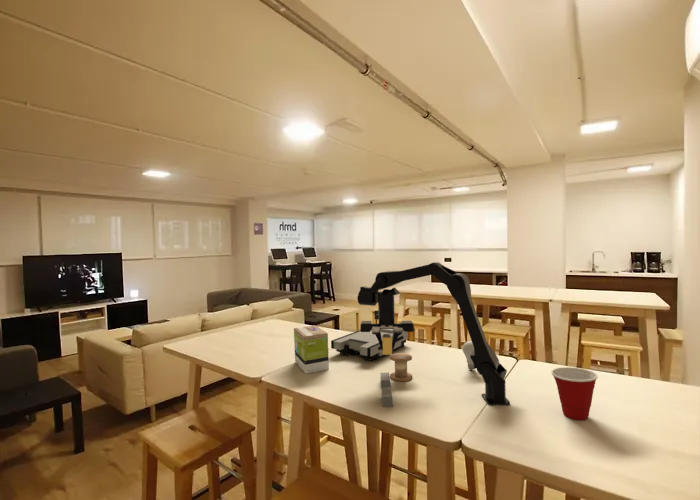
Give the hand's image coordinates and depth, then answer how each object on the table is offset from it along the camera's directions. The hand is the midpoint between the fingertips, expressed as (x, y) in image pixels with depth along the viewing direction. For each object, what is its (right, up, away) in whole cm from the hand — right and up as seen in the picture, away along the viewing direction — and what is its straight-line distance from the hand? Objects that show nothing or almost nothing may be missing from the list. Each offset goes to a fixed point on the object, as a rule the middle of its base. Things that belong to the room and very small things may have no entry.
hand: (387, 350), depth 122 cm
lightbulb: (+33, -10, +7) cm, 35 cm away
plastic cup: (+48, -10, -28) cm, 57 cm away
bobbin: (+5, -10, +2) cm, 12 cm away
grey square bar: (-2, -11, -11) cm, 15 cm away
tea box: (-29, -11, +16) cm, 35 cm away
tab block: (0, -1, 0) cm, 1 cm away
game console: (-4, -11, +34) cm, 36 cm away
